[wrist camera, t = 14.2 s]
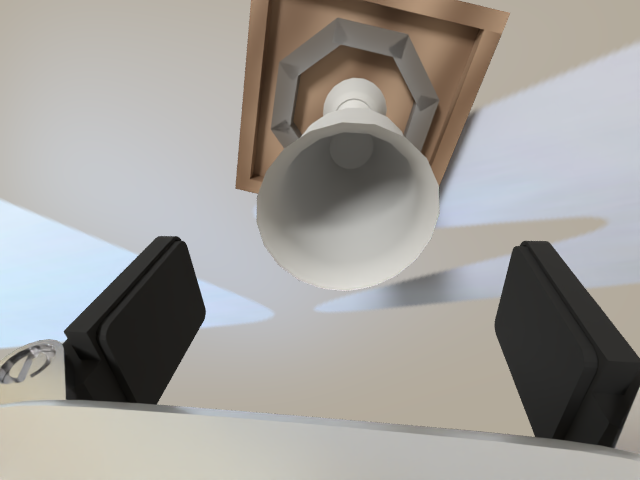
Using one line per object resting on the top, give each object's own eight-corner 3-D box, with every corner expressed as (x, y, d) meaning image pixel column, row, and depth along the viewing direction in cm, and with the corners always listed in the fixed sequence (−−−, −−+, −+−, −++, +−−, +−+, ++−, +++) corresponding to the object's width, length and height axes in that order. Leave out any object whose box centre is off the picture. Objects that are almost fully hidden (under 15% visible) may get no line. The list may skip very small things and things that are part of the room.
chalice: (363, 170, 32) (363, 315, 16) (295, 128, 30) (227, 241, 15) (418, 95, 28) (483, 189, 13) (343, 42, 27) (317, 78, 11)
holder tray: (499, 13, 26) (511, 13, 24) (417, 219, 35) (420, 233, 33) (263, -44, 25) (253, -50, 23) (242, 179, 34) (234, 189, 32)
